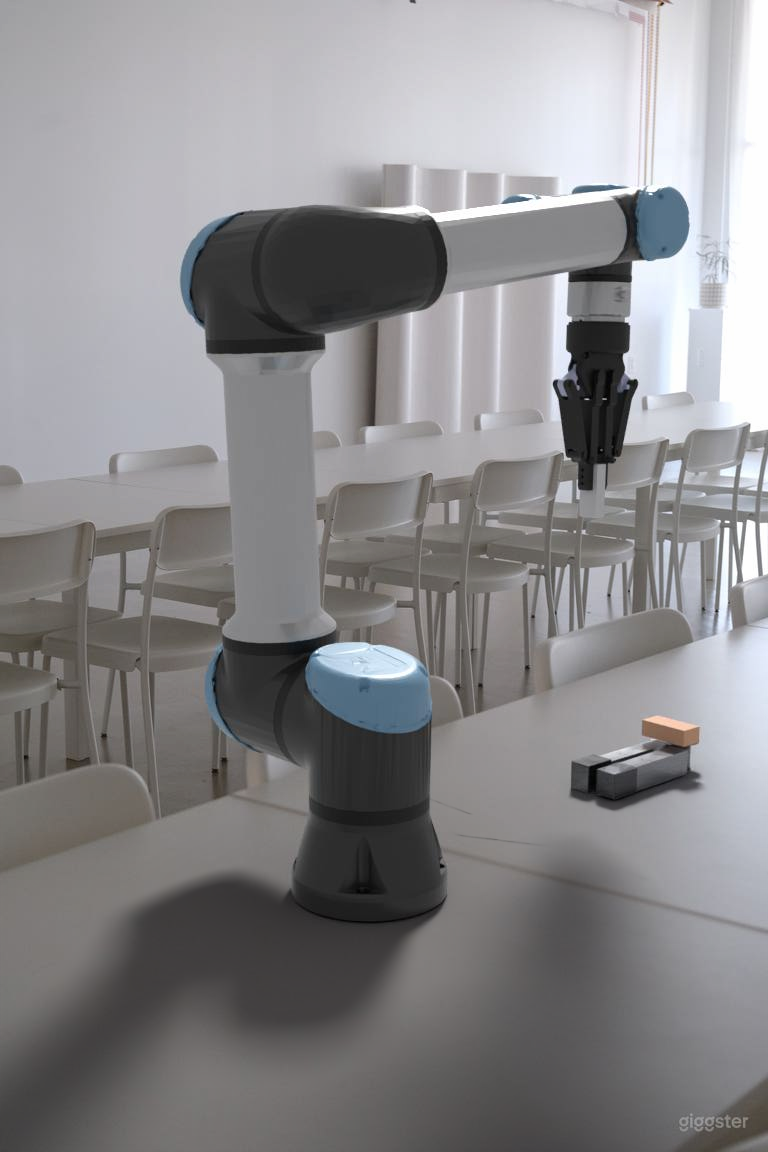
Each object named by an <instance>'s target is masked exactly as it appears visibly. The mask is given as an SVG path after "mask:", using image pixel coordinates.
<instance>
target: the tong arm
mask: <svg viewBox="0 0 768 1152" xmlns="http://www.w3.org/2000/svg"><path fill="white" fill-rule="evenodd" d="M699 743H700V741H699V742H698V743H695V744H692V745H688V746H691V747H692V746H696V745H698V744H699ZM674 745H675V744H674ZM687 761H688V750H686V749H682V748H678V747H674V746H669V747H666V748H663V749H660V750H657V751H654V752H651V753H648V754H645V755H642V756H638V757H635V758H632V759H629V760H626V761H623V762H618V763H615V764H612V765H609V766H606V767H602V768H599V769H597V789H596V791H595V792H596V795H598V796H602V797H605V798H609V799H611V800H614V801H616V800H617V799H621V798H624V797H627V796H629V795H630V796H631V795H633V794H635V793H637V792H639V791H642V790H645V789H648V788H650V787H653V786H656V785H659V784H663V783H665V782H668V781H671V780H673V779H677V778H679V777H682V776H685V775H687V774H688V769H687Z"/></svg>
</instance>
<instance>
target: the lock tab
mask: <svg viewBox="0 0 768 1152" xmlns="http://www.w3.org/2000/svg"><path fill="white" fill-rule="evenodd" d="M700 730H701V729H700V725H695V724H692V723H688V722H684V721H680V720H677V719H672V718H669V717H665V716H662V715H654V716H650V717H647V718H643V719H642V720H641V737H642V736H643V737H647V738H649V739H652V738H653V739H657V740H660V741H664V742H668V743H671V744H675V745H679V746H682V747H685V746H688V745H692V744H695V743H698V742H699V743H700ZM699 743H698V744H699ZM692 746H693V745H692Z"/></svg>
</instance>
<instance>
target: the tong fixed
mask: <svg viewBox="0 0 768 1152" xmlns="http://www.w3.org/2000/svg"><path fill="white" fill-rule="evenodd" d="M669 746H674V747H678V748H682V749H686V750H688V761H687V770H688V769H690V768H691V753H692V752H691V751H692V750H691V749H692V746H685V747H682V746H679V745H674V744H671V743H668V742H664V741H660V740H657V739H653V738H649V739H648V740H647V741H645V742H640V743H637V744H634V745H631V746H628V747H624V748H621V749H617V750H614V751H610V752H607V753H604V754H601V755H597V754H594V753H593V754H591V755H587V756H584V757H580V758H577V759H574V760H571V763H570V764H571V767H570V768H571V769H570V770H571V771H570V788H571V789H573V790H577V791H579V792H583V793H586V794H590V793H594V792H596V789H597V769H599V768H602V767H606V766H609V765H612V764H615V763H618V762H623V761H626V760H629V759H632V758H635V757H638V756H642V755H645V754H648V753H651V752H654V751H657V750H660V749H663V748H666V747H669Z"/></svg>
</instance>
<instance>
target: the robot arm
mask: <svg viewBox="0 0 768 1152" xmlns="http://www.w3.org/2000/svg"><path fill="white" fill-rule="evenodd" d="M689 216H690V212H689V207H688V203H687V201H686V199H685V198H684V196H683V195H682V193H681V192H680V191H679V190H678V189H676V188H674V187H673V186H669V185H643V186H640V187H629V186H626V185H623V184H613V183H611V184H610V183H592V184H591V183H590V184H581V185H577V186H576V187H574V188H573V189H572V191H571V193H568V194H558V195H556V194H555V195H537V194H536V193H529V194H517V193H516V194H513V195H512V194H511V196H508V197H507V198H505V199H504V200H502V202H501V203H500V204H496V205H489V206H481V207H472V208H467V209H458V210H450V211H449V210H448V211H444V212H435V213H431V212H430V211H429V210H428V209H425V208H423V207H421V206H418V205H414V204H411V205H410V204H407V205H400V206H355V205H335V204H309V205H300V206H295V207H294V206H293V207H287V208H286V207H284V208H283V207H281V208H272V209H271V208H270V209H259V210H257V209H256V210H253V209H251V210H244V211H242V210H241V211H238V212H236V213H234V214H230V215H226V216H223V217H220V218H217V219H214V220H212V221H211V222H210V223H208V224H206V225H205V226H204V227H203V228H201V229H200V231H198V233H197V234H196V235H195V237H194V238H192V240H191V241H190V243H189V245H188V247H187V249H186V250H185V253H184V254H183V255H184V256H183V257H182V263H181V267H180V274H179V279H180V280H179V286H180V293H181V298H182V301H183V304H184V307H185V308H186V311H187V313H188V314H189V315H191V316H192V317H193V318H194V320H195V323H196V324H197V326H199V327H201V328H202V329H203V330H204V337H205V352H206V354H205V355H206V358H207V359H209V360H210V361H211V362H212V363H213V364H214V365H215V366H216V367H217V368H218V369H219V370H220V371H221V373H222V377H223V378H222V379H223V380H222V381H223V396H224V397H223V398H224V413H225V415H224V417H225V418H224V419H225V433H226V434H225V435H226V453H227V455H226V456H227V470H228V487H229V489H228V490H229V507H230V525H231V526H230V527H231V528H230V529H231V545H232V562H233V563H232V564H233V579H234V582H233V583H234V584H233V585H234V600H235V601H234V602H235V612H234V614H233V615H232V616H231V617H230V618H229V619H228V620H227V621H226V622H225V623H224V624H223V626H222V628H221V629H222V631H221V637H222V639H221V640H222V641H221V642H222V643H220V645H219V646H218V647H217V648H216V650H215V651H214V655H215V656H214V658H213V659H212V660H210V661H208V664H207V667H206V671H205V676H204V685H203V686H204V687H203V688H204V689H203V690H204V698H205V704H206V707H207V710H208V712H209V714H210V717H211V718H212V720H213V721H214V723H215V724H216V726H217V727H218V728H219V730H221V731H222V732H223V733H224V734H225V735H226V736H228V737H229V738H231V739H232V740H233V741H236V742H237V743H239V744H241V745H243V746H244V747H245V748H246V749H248V750H250V751H254V752H257V753H259V754H261V753H263V754H265V755H269V756H271V757H274V758H275V759H276V758H277V759H279V760H281V761H284V762H287V763H290V764H292V765H294V766H298V767H300V768H303V769H305V770H307V771H308V816H307V820H306V823H305V826H304V830H303V833H302V837H301V840H300V844H299V847H298V851H297V852H298V853H297V856H296V857H295V859H294V862H293V864H292V866H291V871H290V872H291V873H290V874H291V881H290V882H291V884H290V885H291V886H290V887H291V895H292V898H293V899H294V901H295V902H296V903H297V904H298V905H300V906H302V908H304V909H306V910H308V911H310V912H312V913H315V914H317V915H321V916H322V917H323V916H324V917H328V918H333V919H336V920H343V921H351V922H352V921H353V922H356V921H357V922H383V921H384V922H385V921H395V920H401V919H406V918H411V917H415V916H418V915H421V914H423V913H426V912H428V911H431V910H432V909H433V908H436V907H437V906H438V905H440V904H441V903H442V902H444V900H445V899H446V896H447V894H448V885H449V881H448V875H449V874H448V873H449V872H448V866H447V863H446V860H445V858H444V857H443V853H442V849H441V845H440V841H439V838H438V835H437V832H436V829H435V827H434V824H433V820H432V816H431V808H430V807H431V796H430V795H431V794H430V793H431V763H432V762H431V761H432V759H431V757H432V722H433V721H432V720H433V719H432V717H433V715H432V714H433V708H434V707H433V704H434V703H433V700H432V697H431V686H430V685H431V684H430V683H431V682H430V677H429V676H430V675H429V673H428V670H427V668H426V667H425V666H424V664H423V663H422V662H421V661H420V660H419V659H418V658H417V657H416V656H414V655H412V654H410V653H408V652H406V651H404V650H402V649H398V648H396V647H392V646H388V645H384V644H377V645H375V644H371V643H369V642H362V641H361V642H360V641H353V642H352V641H348V642H347V641H345V642H338V635H337V633H338V632H337V622H336V620H335V619H334V618H332V616H331V615H329V614H328V613H327V612H326V611H325V609H323V607H322V606H321V605H322V603H321V601H322V600H321V583H320V582H321V581H320V577H321V576H320V559H319V558H320V557H319V556H320V555H319V537H318V536H319V533H318V513H317V512H318V510H317V489H316V465H315V440H314V419H313V418H314V417H313V393H312V392H313V391H312V370H313V368H314V366H315V365H316V364H317V363H318V361H319V360H320V359H321V358H322V357H323V356H324V354H325V353H326V348H327V347H326V335H328V334H329V335H330V334H333V333H338V332H343V331H347V330H351V329H354V328H358V327H362V326H365V325H368V324H372V323H376V322H379V321H383V320H387V319H390V318H394V317H397V316H398V317H399V316H402V315H406V314H409V313H410V314H411V313H414V312H419V311H424V310H428V309H430V308H432V307H433V306H435V305H436V304H437V303H438V302H439V300H440V299H441V298H442V296H446V295H450V294H451V295H452V294H457V293H462V292H467V291H474V290H479V289H483V288H489V287H494V286H499V285H507V284H511V283H515V282H521V281H525V280H526V281H527V280H533V279H537V278H543V277H548V276H550V277H551V276H555V275H560V274H565V273H567V274H568V275H567V276H568V278H567V282H568V283H567V303H566V305H567V306H566V316H568V317H570V318H571V321H569V322H568V324H566V333H565V335H566V336H565V340H566V341H565V350H566V352H567V353H570V360H569V363H568V366H567V373H565V375H564V376H563V377H562V378H554V379H553V381H552V388H553V390H554V392H555V394H556V397H557V399H558V406H559V414H560V415H559V417H560V423H561V431H562V436H563V437H562V438H563V444H564V445H563V446H564V454H565V457H566V458H568V459H570V460H571V462H572V463H577V466H578V468H577V469H578V470H577V477H578V478H577V488H578V490H579V503H578V506H579V507H578V508H579V510H578V517H579V518H580V517H581V518H588V519H604V518H605V497H606V496H605V494H606V490H607V487H608V480H609V479H608V478H609V477H608V474H609V464H610V465H611V464H615V463H616V461H617V458H620V457H621V456H622V453H623V446H624V441H625V437H626V433H627V432H626V431H627V426H628V422H629V416H630V413H631V407H632V406H631V405H632V401H633V397H634V396H635V394H636V391H637V389H638V386H639V381H638V379H637V378H631V377H629V376H628V375H627V373H626V372H625V371H626V365H625V362H624V355H625V354H627V353H629V351H630V347H631V344H630V342H631V341H630V340H631V324H630V323H629V322H627V321H626V318H629V317H630V316H631V309H632V307H631V303H632V301H631V299H632V282H633V275H632V271H633V262H637V261H638V262H639V261H646V262H653V261H656V260H662V259H670V258H672V257H675V256H676V255H677V254H678V253H680V251H681V250H682V249H683V247H684V245H685V244H686V243H687V240H688V237H689V232H690V225H691V223H690V217H689Z"/></svg>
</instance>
